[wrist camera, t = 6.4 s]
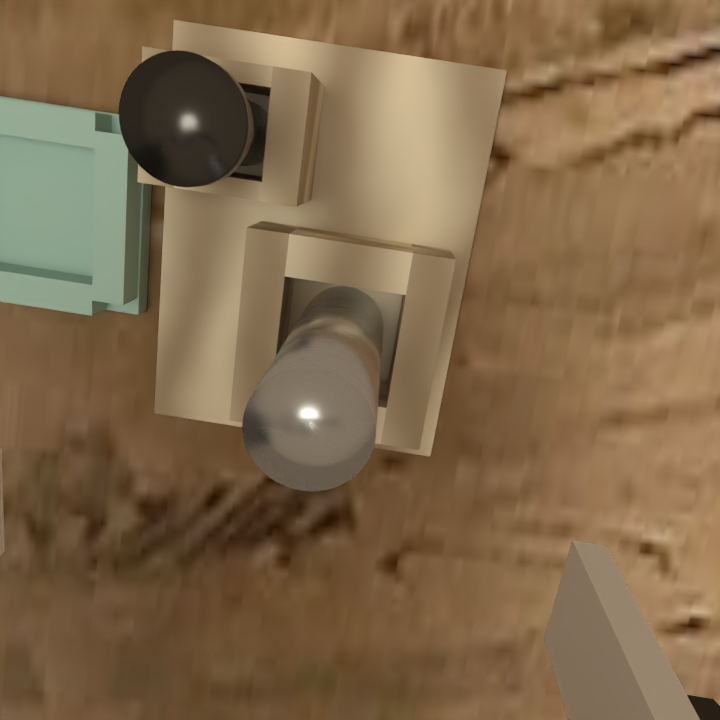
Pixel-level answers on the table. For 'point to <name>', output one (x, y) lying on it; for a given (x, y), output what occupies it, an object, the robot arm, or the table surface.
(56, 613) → the table surface
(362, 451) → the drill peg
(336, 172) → the socket block
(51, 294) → the tray
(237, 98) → the black mushroom head peg
